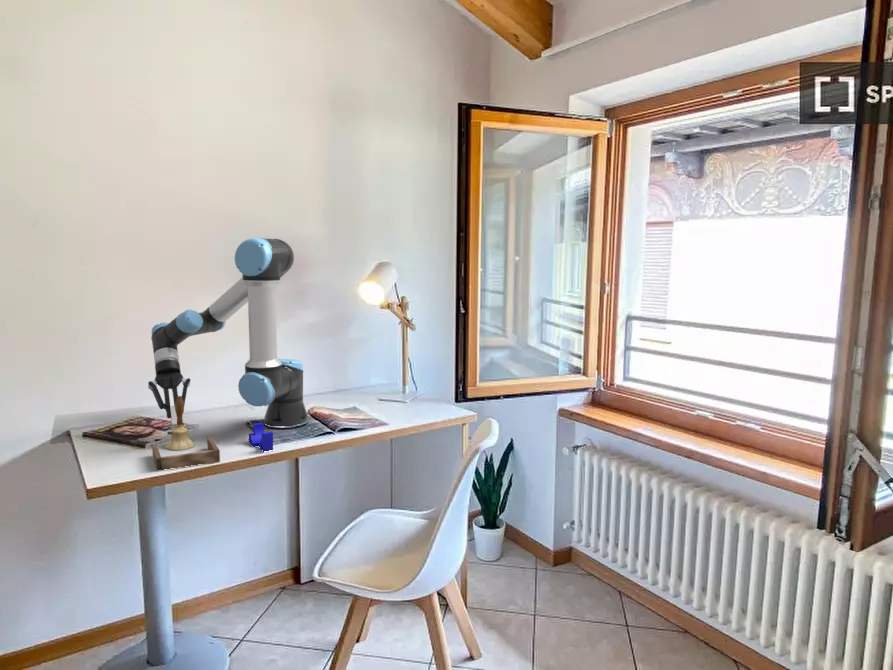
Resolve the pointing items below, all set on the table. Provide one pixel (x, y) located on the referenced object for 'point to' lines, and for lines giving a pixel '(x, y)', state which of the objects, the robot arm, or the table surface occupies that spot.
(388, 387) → the table surface
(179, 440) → the hand bell
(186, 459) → the walnut corral
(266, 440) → the cable clip
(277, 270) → the robot arm
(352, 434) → the table surface
